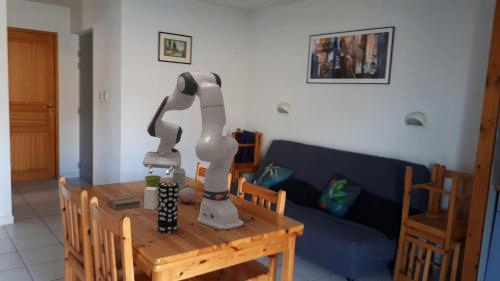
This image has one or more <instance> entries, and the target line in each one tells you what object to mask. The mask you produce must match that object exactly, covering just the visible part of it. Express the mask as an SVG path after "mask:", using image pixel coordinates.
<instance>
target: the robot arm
mask: <svg viewBox="0 0 500 281" xmlns="http://www.w3.org/2000/svg"><path fill="white" fill-rule="evenodd" d="M221 88H222V80H221V77H220V75H219V73H218V74H217V73H215V72H203V71H191V72H188V71H186V72H182V73H180V74H179V75H178V77H177V80H176V86H175V87H174V91H173V92H172V94H170V95H167V96H165V97H164V98H163V100H162V102H161V103H160V105H159V106H158V107H157V110H156V111H155V114H154V115H153V117H152V118H151V119H150V121H149V122H148V123H147V127H146V131H147V133H148V135H149V137H153V138H159V139H160V141H159V144H158V146H157V149H156V151H148V152H146V153H145V155H144V158H143V160H142V165H143V166H144V168H148V174H149V175H153V169H154V168H157V169H158V168H159V169H167V170H166V176H171V175H170V174H171V173H173V171H174V169H180V168H181V166H182V155H181V151H180V150H179V149H177V148H175V146H176V145H178V144H179V143H180V141H181V139H182V138H181V137H182V134H183V128H182V127H181V125H179V124H176V123H173V122H169V121H166V120H164V119H162V118H163V117H164V115H165V114H166V113H167V112H169V111H185V110H188V109H190V108H191V107H192V106H193V104H194V102H195V99H196V97H198V99H199V104H200V107H199V108H200V112H201V113H200V114H201V115H200V116H201V122H202V123H201V124H202V125H201V134H200V138H199V140H198V142H197V143H196V145H195V150H194V151H195V156H196V157H197V159H198V160H200V161H202V162H205V163H207V162H208V163H209V165H208V167H207V168H206V170H205V172H204V177H203V178H204V182H203V189H202V197H203V198H202V201H201V203H200V207H199V208H200V209H199V215H198V217H197V218H196V222H199V223H200V224H203V225H206V226H209V227H212V228H215V229H218V230H229V229H235V228H239V227H242V226H243V225H244V222H243V221H242V220H241V219H240V218H239V211H238V208H237V207H236V206H235V205H234V204H233V202H232V201H231V199H230V196H231V193H230V191H229V187H228V186H229V174H230V170H231V167H232V162H233V160H234V158H235V155H236V154H238V151H239V143H238V141H237V139H236V138H234V137H233V136H228V135H223V130H224V127H225V126H226V123H227V116H226V115H227V114H226V108H225V101H224V96H223V93H222V89H221Z"/></svg>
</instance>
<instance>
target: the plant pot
mask: <svg viewBox="0 0 500 281" xmlns="http://www.w3.org/2000/svg"><path fill="white" fill-rule="evenodd" d="M144 179H145V183H146V188H147V187H156V188H158V187H159V183H161V182H160V181H161V180H162V176H161V175H155V174H154V175H153V174H149V175H146V176H144Z"/></svg>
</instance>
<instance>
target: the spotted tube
mask: <svg viewBox="0 0 500 281" xmlns="http://www.w3.org/2000/svg"><path fill="white" fill-rule="evenodd" d="M178 188H179V184H178V183H175V182H172V181H161V182H160V183H159V187H158V192H157V222H156V223H157V224H156V225H157V229H156V230H157V232H159V233H161V234H162V233H163V234H170V233H171V234H173V233H175V232H177V230H178V217H179V215H178V211H179V195H178V193H179V189H178Z"/></svg>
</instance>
